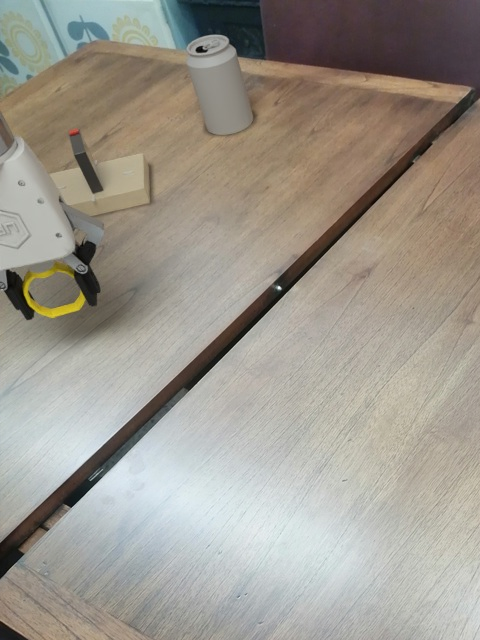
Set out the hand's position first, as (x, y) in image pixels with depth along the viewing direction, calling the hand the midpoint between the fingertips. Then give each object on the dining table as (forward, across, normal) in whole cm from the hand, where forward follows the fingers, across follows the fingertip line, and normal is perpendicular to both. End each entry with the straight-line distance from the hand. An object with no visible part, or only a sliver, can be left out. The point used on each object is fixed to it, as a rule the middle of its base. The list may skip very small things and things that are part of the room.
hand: (62, 303), depth 75 cm
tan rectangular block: (+7, +1, +34) cm, 35 cm away
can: (+7, +21, +47) cm, 52 cm away
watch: (+1, 0, 0) cm, 1 cm away
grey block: (+4, +1, +34) cm, 34 cm away
